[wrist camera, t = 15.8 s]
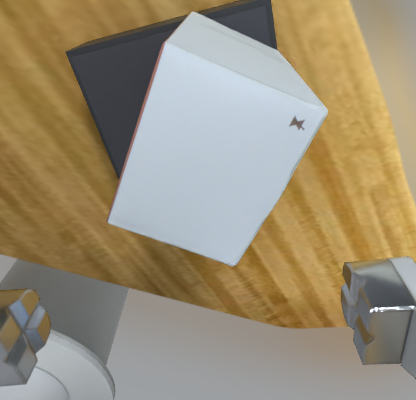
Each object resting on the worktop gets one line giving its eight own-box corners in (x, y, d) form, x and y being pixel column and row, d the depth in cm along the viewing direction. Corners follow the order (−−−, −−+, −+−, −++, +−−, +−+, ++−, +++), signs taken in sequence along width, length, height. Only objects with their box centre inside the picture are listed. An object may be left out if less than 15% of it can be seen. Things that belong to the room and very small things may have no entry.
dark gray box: (138, 172, 35) (125, 201, 30) (88, 41, 29) (63, 52, 24) (283, 141, 33) (293, 168, 28) (262, -6, 27) (271, -4, 22)
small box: (190, 8, 22) (163, 33, 11) (280, 50, 24) (336, 110, 12) (151, 123, 26) (102, 226, 15) (230, 154, 28) (238, 271, 16)
